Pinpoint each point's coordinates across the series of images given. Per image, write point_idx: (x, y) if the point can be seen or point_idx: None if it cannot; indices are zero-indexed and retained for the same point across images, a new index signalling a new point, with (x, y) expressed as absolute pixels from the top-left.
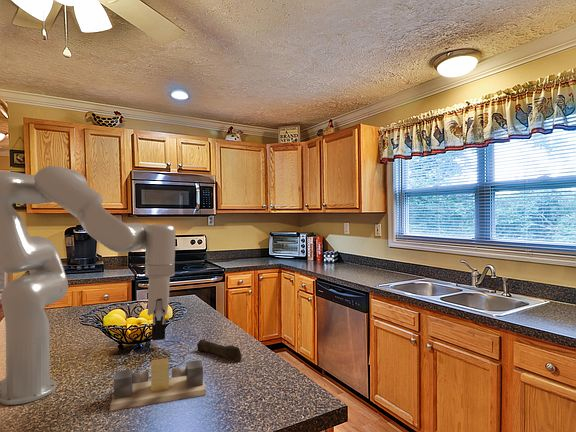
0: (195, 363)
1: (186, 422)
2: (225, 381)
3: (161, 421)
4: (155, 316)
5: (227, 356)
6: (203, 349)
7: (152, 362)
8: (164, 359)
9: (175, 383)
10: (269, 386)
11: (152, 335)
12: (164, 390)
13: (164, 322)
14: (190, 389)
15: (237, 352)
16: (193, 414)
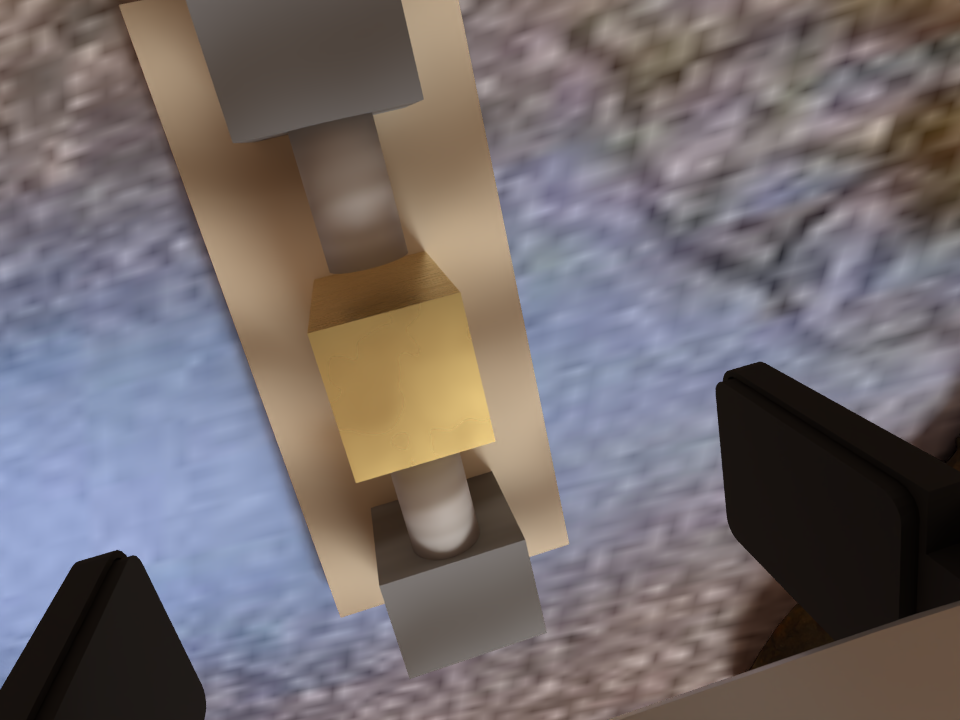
0: (485, 611)
1: (10, 566)
2: (499, 659)
3: (10, 423)
4: (867, 523)
5: (802, 628)
6: (958, 461)
7: (398, 319)
8: (459, 416)
9: None
10: None
11: (47, 623)
12: None
13: (790, 577)
14: (342, 530)
15: None
16: None
